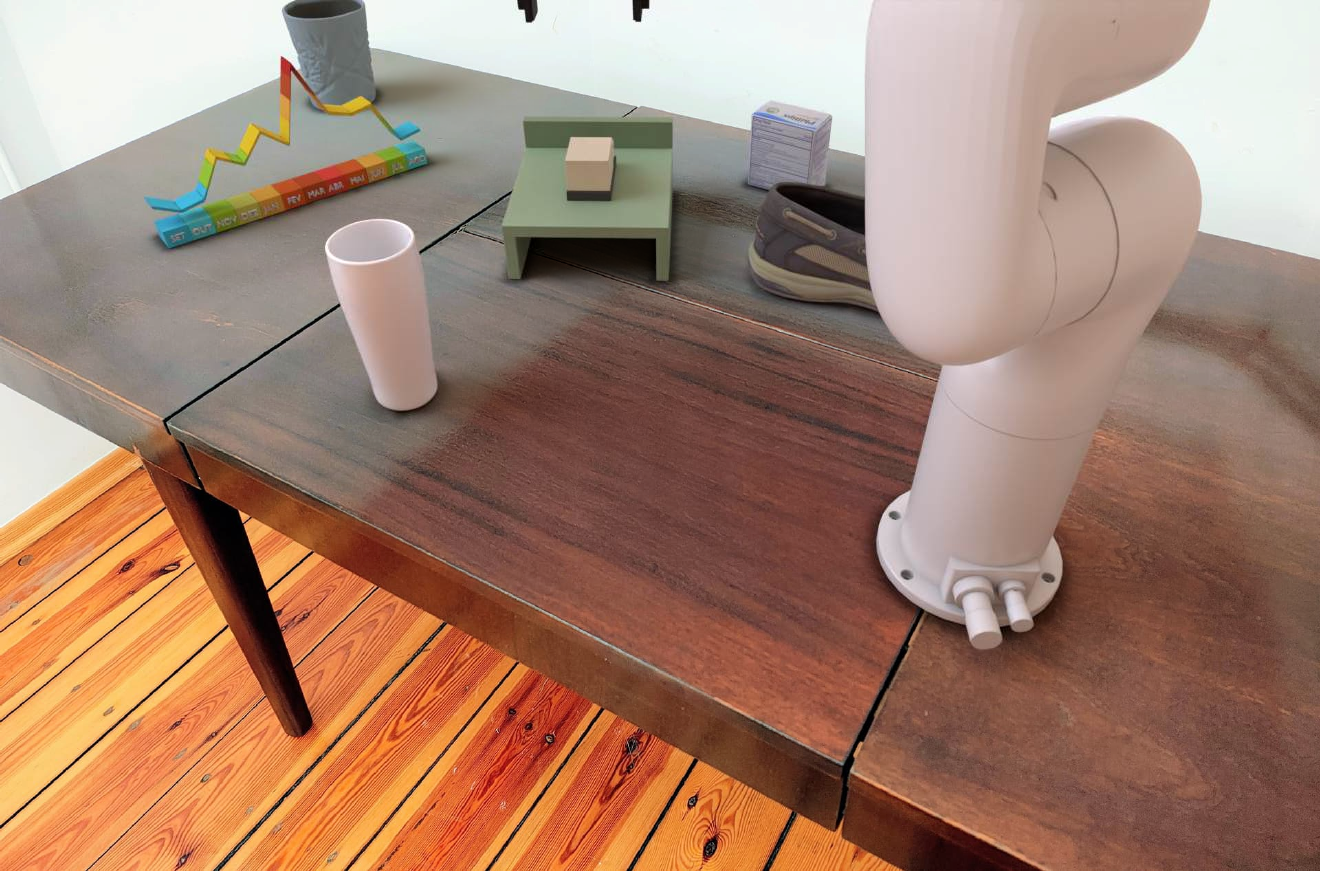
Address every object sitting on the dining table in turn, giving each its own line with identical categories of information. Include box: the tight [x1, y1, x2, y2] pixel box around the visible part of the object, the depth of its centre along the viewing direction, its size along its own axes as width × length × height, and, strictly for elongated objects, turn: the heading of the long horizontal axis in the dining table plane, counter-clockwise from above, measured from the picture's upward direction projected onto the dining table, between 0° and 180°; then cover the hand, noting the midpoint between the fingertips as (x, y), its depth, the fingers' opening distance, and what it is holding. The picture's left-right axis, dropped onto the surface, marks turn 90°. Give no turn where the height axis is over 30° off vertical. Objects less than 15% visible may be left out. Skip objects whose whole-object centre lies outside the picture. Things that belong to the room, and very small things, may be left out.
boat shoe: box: [746, 182, 879, 313], centre depth 87 cm, size 11×29×11 cm, turn 78°
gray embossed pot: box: [281, 0, 377, 111], centre depth 122 cm, size 10×10×12 cm
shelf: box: [501, 116, 674, 282], centre depth 96 cm, size 18×16×9 cm
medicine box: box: [747, 100, 833, 191], centre depth 104 cm, size 8×4×9 cm, turn 58°
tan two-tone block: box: [565, 137, 616, 201], centre depth 94 cm, size 8×4×4 cm, turn 178°
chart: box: [143, 55, 428, 249], centre depth 101 cm, size 30×3×15 cm, turn 129°
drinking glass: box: [324, 218, 439, 412], centre depth 75 cm, size 7×7×15 cm
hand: (584, 17), depth 84 cm, fingers open, 9 cm apart
